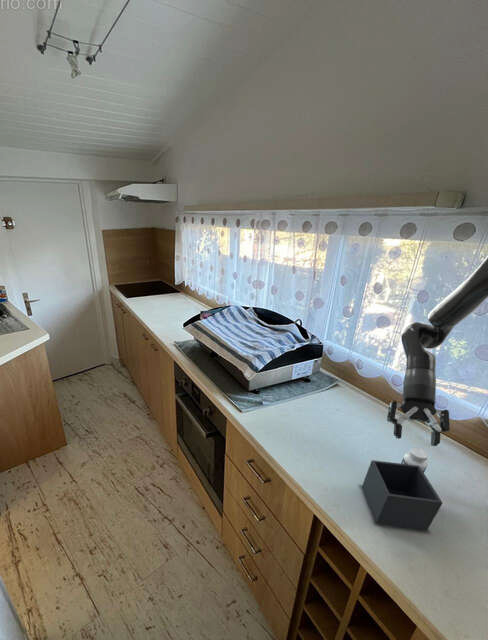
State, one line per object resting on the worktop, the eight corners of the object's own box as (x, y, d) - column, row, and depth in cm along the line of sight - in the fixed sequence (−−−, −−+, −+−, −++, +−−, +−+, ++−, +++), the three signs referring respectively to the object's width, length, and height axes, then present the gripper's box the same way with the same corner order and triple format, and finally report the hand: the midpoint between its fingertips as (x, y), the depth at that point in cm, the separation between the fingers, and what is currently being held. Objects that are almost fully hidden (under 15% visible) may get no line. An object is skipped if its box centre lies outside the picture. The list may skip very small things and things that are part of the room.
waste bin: (406, 492, 82) (419, 465, 78) (426, 531, 73) (442, 503, 68) (361, 486, 84) (371, 460, 80) (375, 523, 75) (388, 495, 70)
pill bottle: (408, 469, 89) (419, 444, 85) (423, 484, 85) (436, 458, 80) (391, 472, 89) (402, 447, 84) (406, 487, 84) (418, 461, 79)
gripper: (396, 379, 88) (391, 434, 84) (455, 387, 83) (454, 447, 79) (387, 385, 95) (382, 437, 91) (441, 394, 90) (439, 449, 86)
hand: (416, 441), depth 85 cm, fingers open, 8 cm apart
